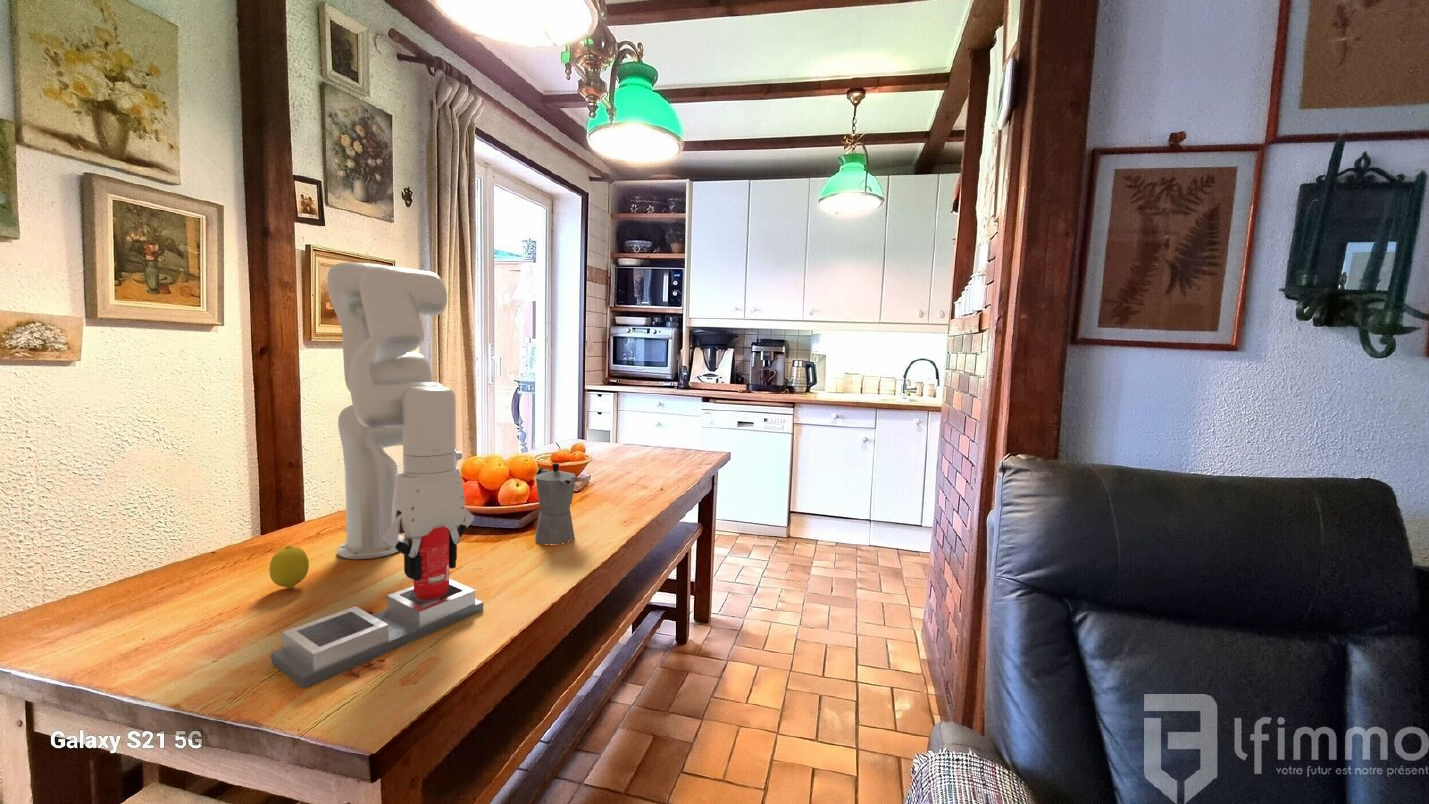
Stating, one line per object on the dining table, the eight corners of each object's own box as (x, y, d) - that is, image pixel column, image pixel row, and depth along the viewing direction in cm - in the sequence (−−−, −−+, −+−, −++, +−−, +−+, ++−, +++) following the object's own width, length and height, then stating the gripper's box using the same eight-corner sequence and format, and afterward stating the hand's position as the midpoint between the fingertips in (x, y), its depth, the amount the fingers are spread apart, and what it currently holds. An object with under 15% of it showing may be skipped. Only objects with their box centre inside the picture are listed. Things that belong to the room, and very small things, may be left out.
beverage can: (413, 604, 85) (412, 530, 84) (414, 590, 90) (413, 520, 89) (449, 598, 88) (449, 526, 86) (449, 585, 92) (448, 517, 91)
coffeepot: (587, 542, 125) (588, 466, 123) (549, 551, 118) (550, 471, 117) (555, 525, 136) (555, 454, 134) (518, 532, 129) (519, 459, 128)
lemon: (316, 586, 98) (314, 543, 97) (281, 598, 93) (279, 553, 92) (298, 579, 100) (296, 537, 99) (263, 591, 95) (261, 547, 94)
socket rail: (271, 662, 75) (270, 635, 74) (448, 594, 97) (448, 572, 96) (303, 689, 70) (302, 659, 69) (483, 610, 92) (483, 587, 91)
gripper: (464, 452, 96) (465, 551, 98) (360, 468, 81) (363, 584, 83) (491, 458, 92) (491, 561, 94) (387, 476, 77) (389, 597, 79)
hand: (431, 571), depth 88 cm, fingers closed on beverage can, 5 cm apart
